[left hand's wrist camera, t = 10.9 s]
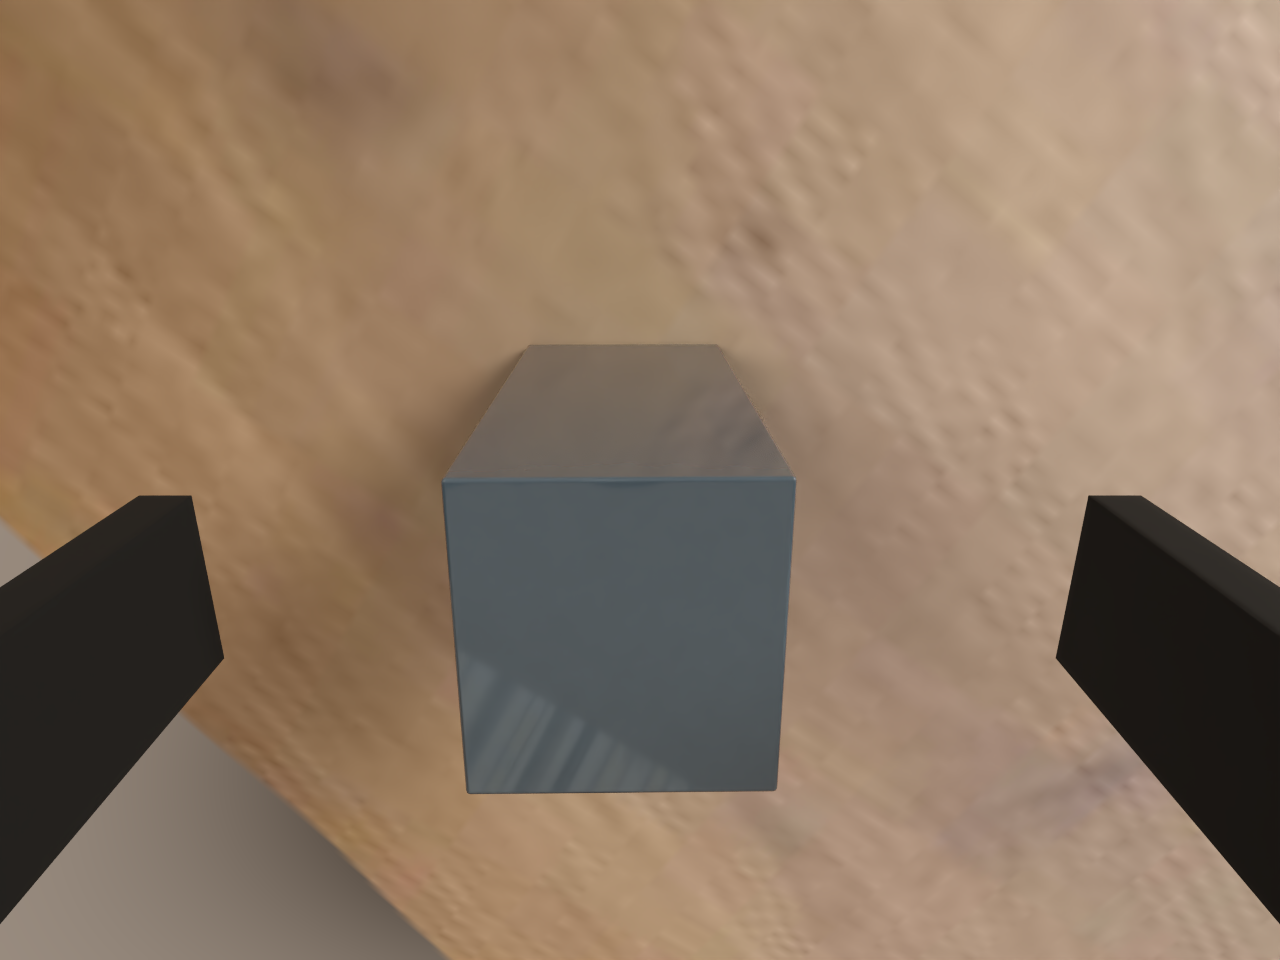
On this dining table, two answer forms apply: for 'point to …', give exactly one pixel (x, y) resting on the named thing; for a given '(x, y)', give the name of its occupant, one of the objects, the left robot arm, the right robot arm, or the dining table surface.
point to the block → (620, 577)
